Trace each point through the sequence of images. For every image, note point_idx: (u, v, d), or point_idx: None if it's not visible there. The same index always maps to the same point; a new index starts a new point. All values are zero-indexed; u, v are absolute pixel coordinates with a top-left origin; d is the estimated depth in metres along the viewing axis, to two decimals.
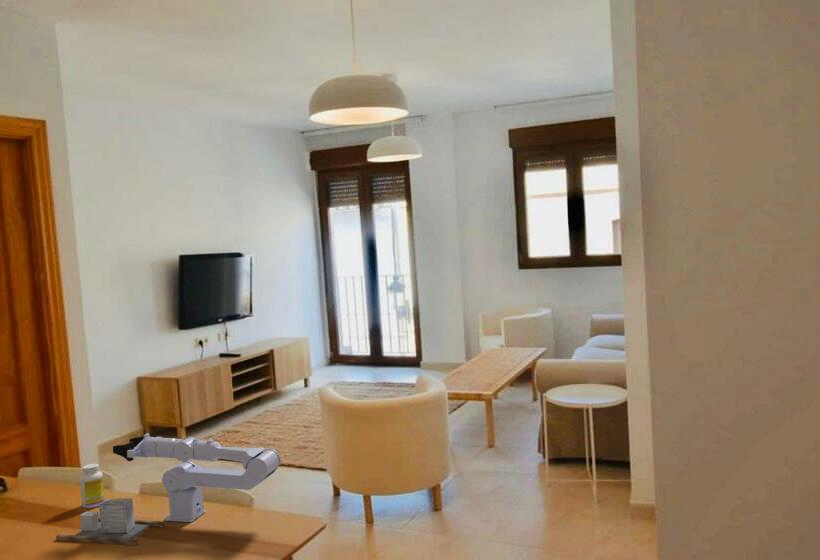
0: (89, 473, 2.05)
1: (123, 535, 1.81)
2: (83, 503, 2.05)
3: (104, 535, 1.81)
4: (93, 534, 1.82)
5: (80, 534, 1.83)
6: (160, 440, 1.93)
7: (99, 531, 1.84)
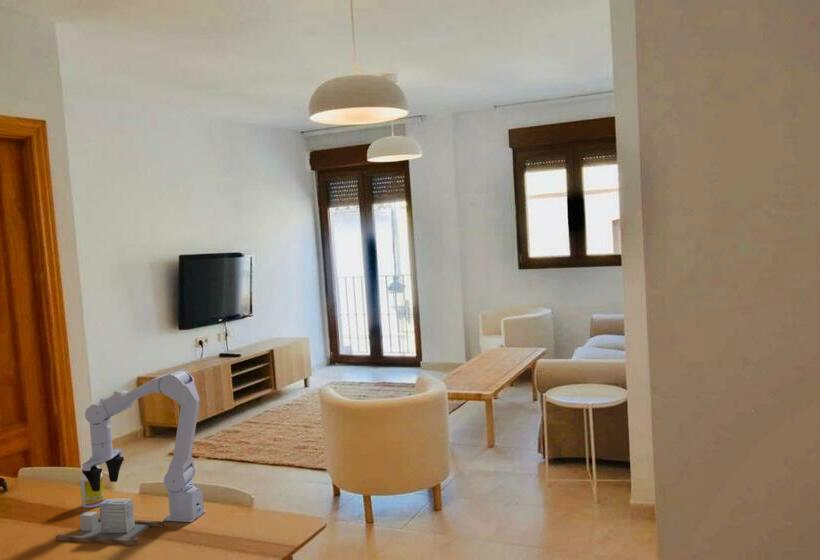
0: None
1: (123, 535, 1.81)
2: (83, 503, 2.05)
3: (104, 535, 1.81)
4: (93, 534, 1.82)
5: (80, 534, 1.83)
6: (91, 440, 1.92)
7: (99, 531, 1.84)
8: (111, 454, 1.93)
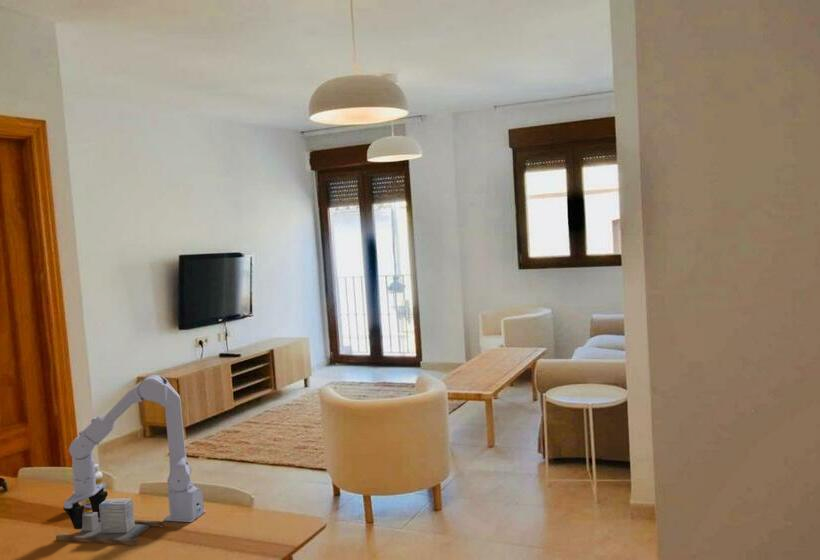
0: None
1: (123, 535, 1.81)
2: (83, 503, 2.05)
3: (104, 535, 1.81)
4: (93, 534, 1.82)
5: (80, 534, 1.83)
6: (73, 476, 1.84)
7: (99, 531, 1.84)
8: (94, 490, 1.86)
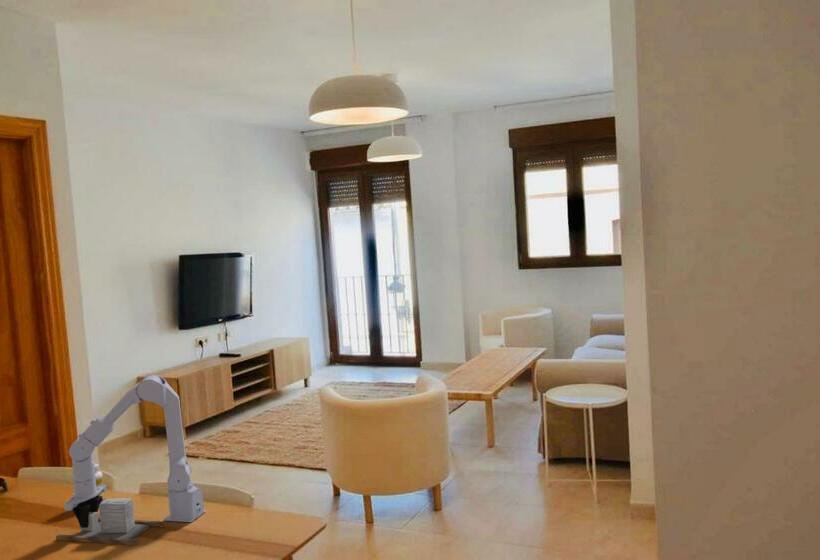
0: None
1: (123, 535, 1.81)
2: None
3: (104, 535, 1.81)
4: (93, 534, 1.82)
5: (80, 534, 1.83)
6: (73, 479, 1.84)
7: (99, 531, 1.84)
8: (94, 492, 1.86)
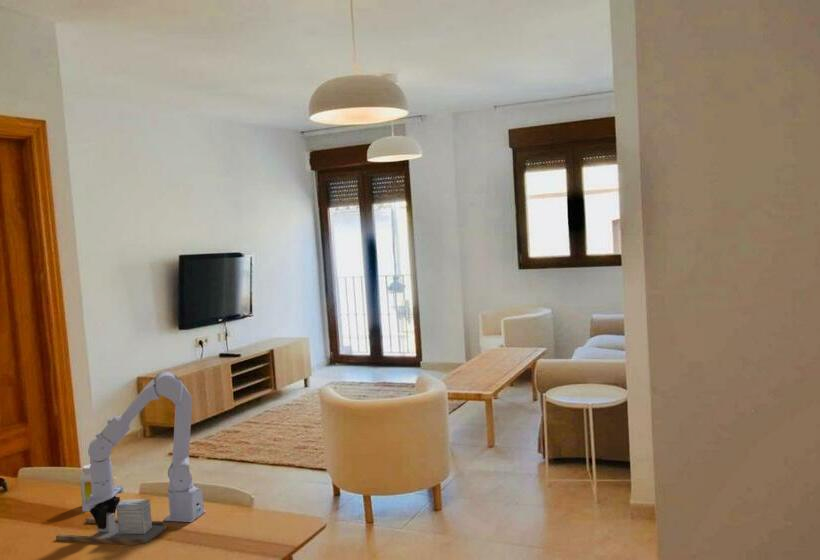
0: (89, 473, 2.05)
1: (140, 536, 1.79)
2: (83, 503, 2.05)
3: (121, 536, 1.80)
4: (110, 535, 1.81)
5: (97, 535, 1.82)
6: (91, 480, 1.82)
7: (116, 532, 1.83)
8: (112, 493, 1.85)
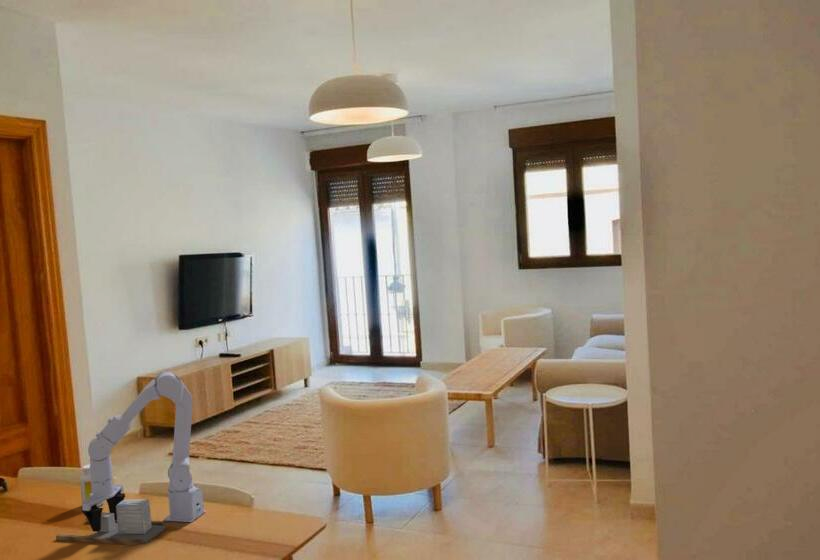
0: (89, 473, 2.05)
1: (140, 536, 1.79)
2: None
3: (121, 536, 1.80)
4: (110, 535, 1.81)
5: (97, 535, 1.82)
6: (91, 479, 1.82)
7: (116, 532, 1.83)
8: (112, 492, 1.84)
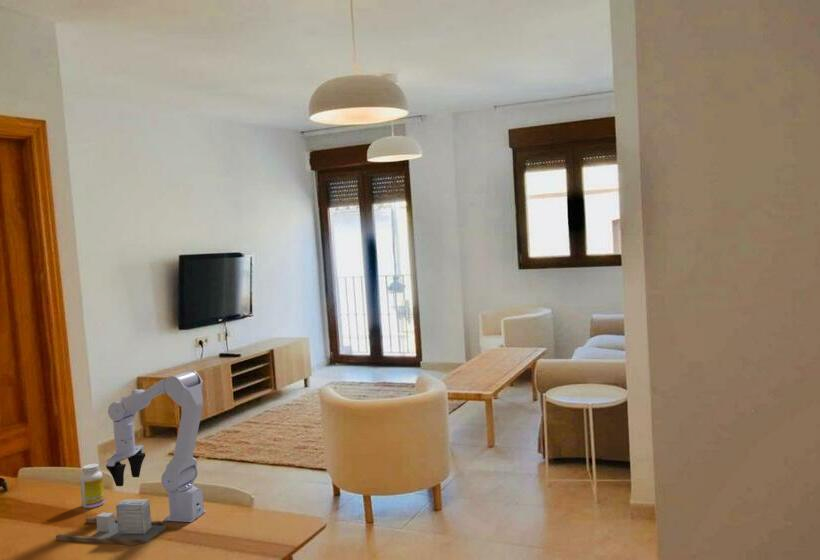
0: (89, 473, 2.05)
1: (140, 536, 1.79)
2: (83, 503, 2.05)
3: (121, 536, 1.80)
4: (110, 535, 1.81)
5: (97, 535, 1.82)
6: None
7: (116, 532, 1.83)
8: (134, 450, 2.00)
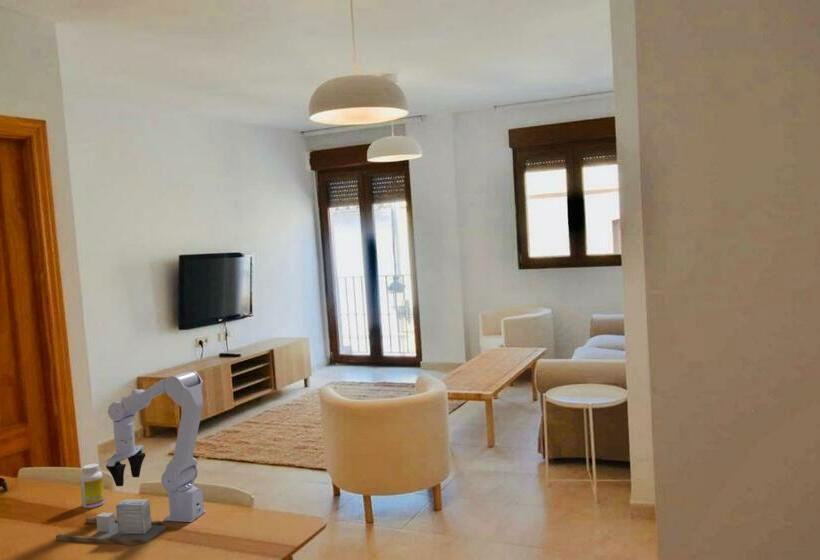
0: (89, 473, 2.05)
1: (140, 536, 1.79)
2: (83, 503, 2.05)
3: (121, 536, 1.80)
4: (110, 535, 1.81)
5: (97, 535, 1.82)
6: None
7: (116, 532, 1.83)
8: (134, 450, 2.00)
